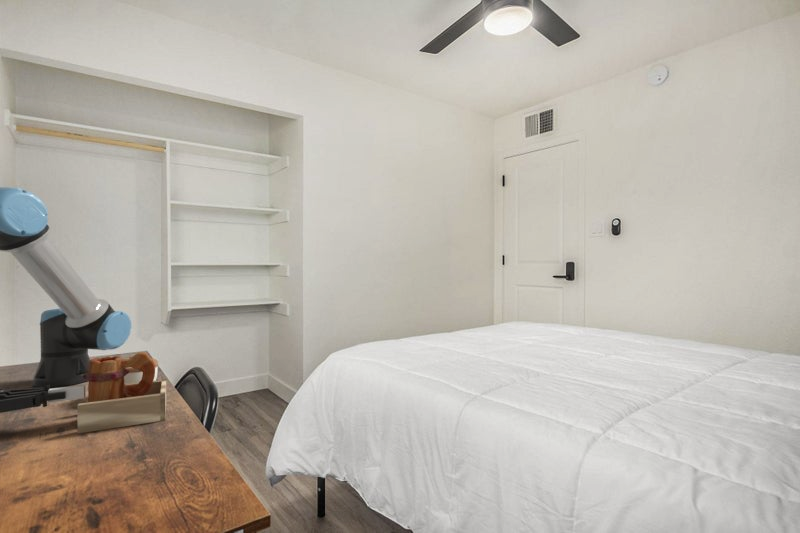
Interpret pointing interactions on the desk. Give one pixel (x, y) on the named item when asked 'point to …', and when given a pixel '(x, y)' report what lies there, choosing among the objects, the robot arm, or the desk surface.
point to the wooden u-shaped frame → (124, 410)
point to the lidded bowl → (138, 374)
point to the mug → (118, 377)
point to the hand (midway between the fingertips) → (84, 391)
